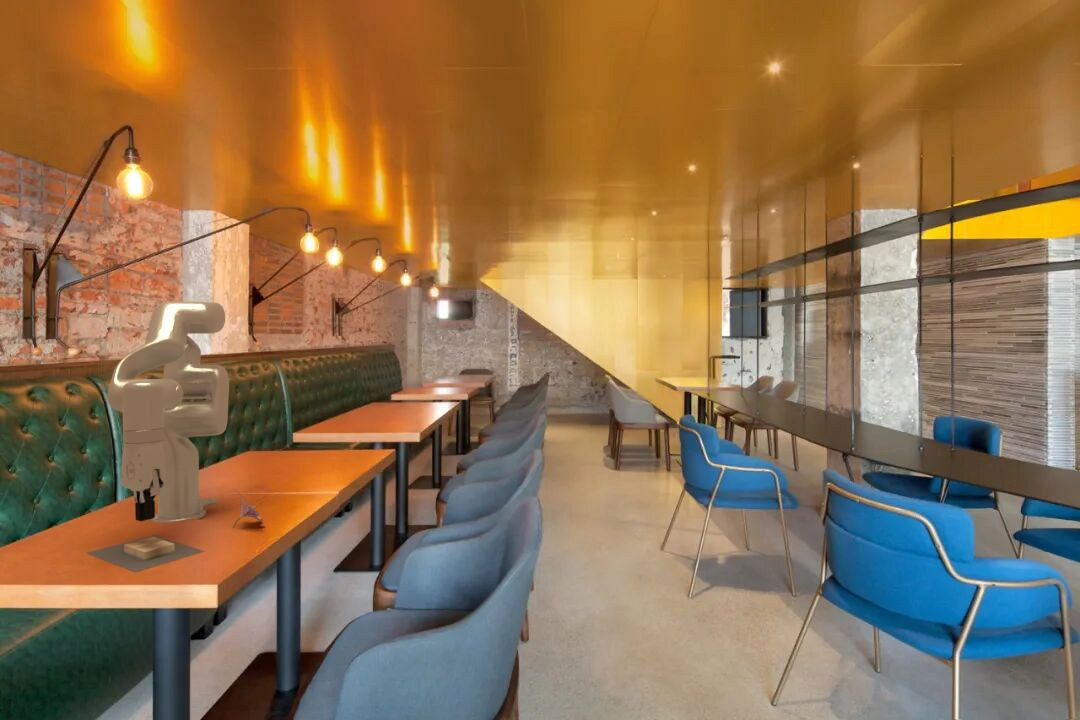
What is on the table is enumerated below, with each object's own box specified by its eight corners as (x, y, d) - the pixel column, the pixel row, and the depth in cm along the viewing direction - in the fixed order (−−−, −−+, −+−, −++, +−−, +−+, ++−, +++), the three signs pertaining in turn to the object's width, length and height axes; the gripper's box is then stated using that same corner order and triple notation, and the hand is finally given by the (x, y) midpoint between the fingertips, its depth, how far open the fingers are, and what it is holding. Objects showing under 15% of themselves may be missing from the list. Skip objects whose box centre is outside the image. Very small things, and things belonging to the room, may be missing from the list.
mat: (154, 538, 139) (154, 535, 139) (205, 554, 128) (205, 551, 128) (85, 556, 127) (85, 552, 127) (135, 576, 116) (135, 572, 116)
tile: (153, 537, 132) (174, 543, 127) (153, 545, 132) (174, 552, 127) (123, 544, 127) (144, 552, 122) (123, 553, 127) (144, 561, 122)
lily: (255, 540, 141) (274, 502, 145) (207, 523, 140) (228, 485, 143) (263, 540, 152) (281, 505, 156) (220, 524, 151) (238, 489, 154)
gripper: (108, 436, 128) (109, 518, 128) (142, 442, 120) (143, 529, 120) (145, 432, 134) (146, 510, 134) (180, 437, 126) (181, 520, 127)
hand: (145, 519), depth 127 cm, fingers closed
